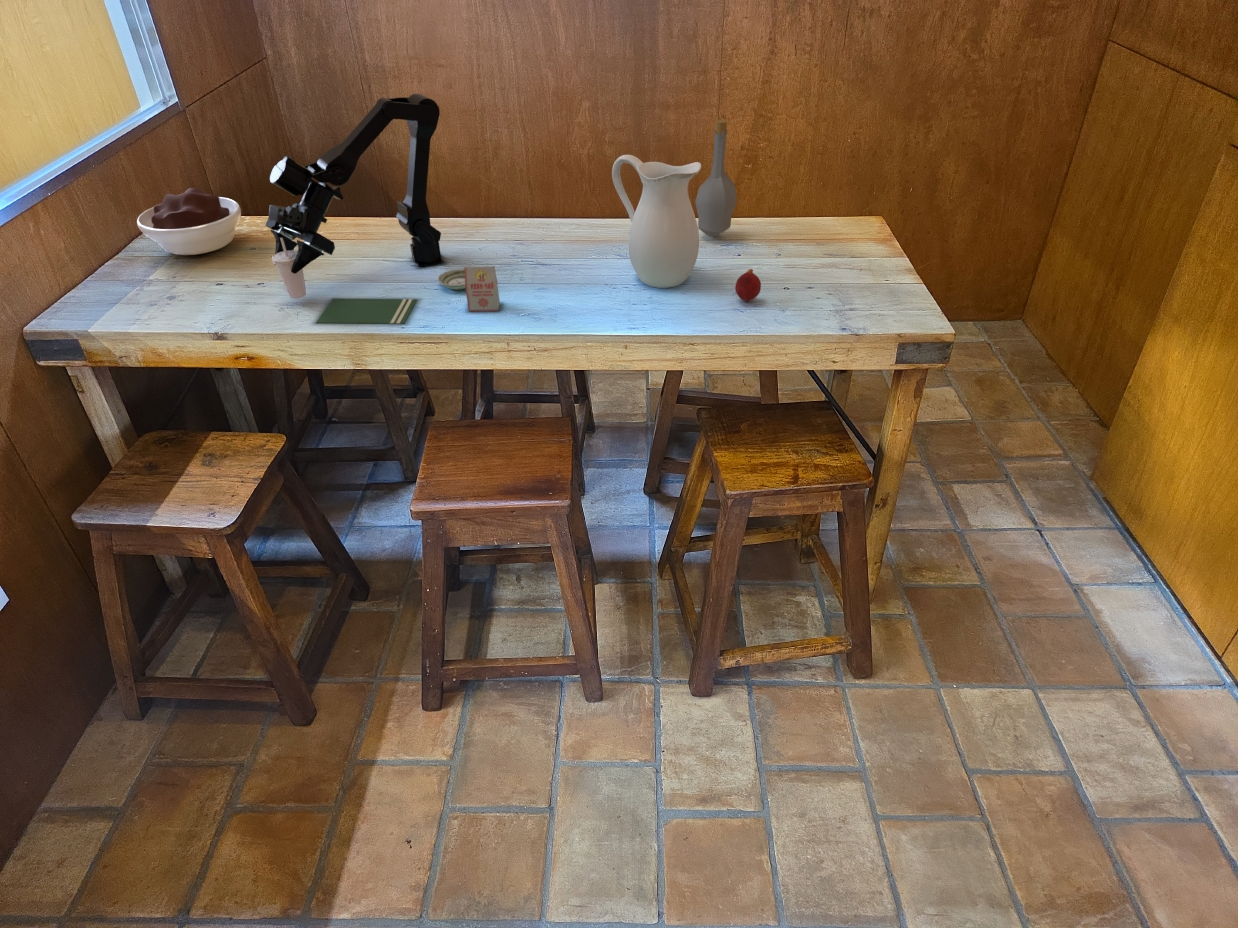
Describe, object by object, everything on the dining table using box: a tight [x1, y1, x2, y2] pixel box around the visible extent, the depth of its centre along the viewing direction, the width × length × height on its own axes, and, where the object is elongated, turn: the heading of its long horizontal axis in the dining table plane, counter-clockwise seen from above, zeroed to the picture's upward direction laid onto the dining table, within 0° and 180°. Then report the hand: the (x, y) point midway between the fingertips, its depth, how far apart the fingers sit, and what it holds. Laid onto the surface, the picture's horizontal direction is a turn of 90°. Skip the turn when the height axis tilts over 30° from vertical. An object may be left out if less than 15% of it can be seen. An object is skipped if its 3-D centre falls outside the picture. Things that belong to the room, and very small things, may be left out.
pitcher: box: [611, 154, 702, 289], centre depth 186 cm, size 24×17×28 cm
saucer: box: [437, 268, 466, 291], centre depth 190 cm, size 10×10×2 cm
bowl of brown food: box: [136, 187, 242, 256], centre depth 206 cm, size 25×25×15 cm
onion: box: [734, 268, 762, 303], centre depth 180 cm, size 6×6×8 cm
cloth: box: [315, 298, 418, 325], centre depth 180 cm, size 20×12×1 cm, turn 88°
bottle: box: [694, 119, 738, 238], centre depth 204 cm, size 11×11×30 cm
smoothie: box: [271, 238, 307, 299], centre depth 180 cm, size 6×6×14 cm
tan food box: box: [463, 265, 501, 313], centre depth 178 cm, size 4×7×10 cm, turn 91°
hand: (284, 269), depth 179 cm, fingers closed on smoothie, 6 cm apart
